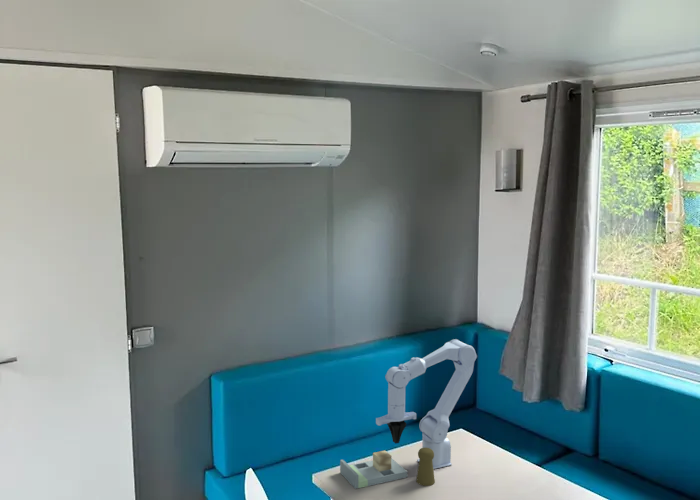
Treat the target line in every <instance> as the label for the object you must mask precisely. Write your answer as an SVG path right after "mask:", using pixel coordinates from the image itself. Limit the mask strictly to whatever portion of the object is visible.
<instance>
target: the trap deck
mask: <svg viewBox="0 0 700 500" xmlns="http://www.w3.org/2000/svg"><path fill="white" fill-rule="evenodd" d="M339 461H340V462H339V467H340V469H339V471H340V472H339V473H340V475H342V476H343V478H344V479H346V481H348V483H349V484H350V485H351V486H352V487H353V488H354V489H356V488H357V489H360V488H365V487H370V486H374V485H378V484H383V483H387V482H391V481H396V480H401V479H405V478H408V470H406V469H405V468H404V467H403V466H401V465H400V464H399V463H398V462H397V461H395V459H393V458H392V457H391V469H389V470H385V471H380V472H379V471H378V470H377V469H376V468H375V467H373V459H372V460H368V461H363V462H358V463H354V464H348V463H347V462H346V461H345V459H340V460H339ZM357 489H356V490H357Z"/></svg>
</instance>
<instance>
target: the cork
mask: <svg viewBox="0 0 700 500" xmlns="http://www.w3.org/2000/svg"><path fill="white" fill-rule="evenodd" d="M417 456H418V459H420V460H419V462H418V465H417V466H418V467H417V474H416V480H415V482H416V483H417V484H418V485H420V486H423V487H430V486H433V485H435V483H436V479H435V469H433V462H432V459H433V458H434V452H433V450H432V449H430V448H422V447H421V448H419V450H418V452H417Z"/></svg>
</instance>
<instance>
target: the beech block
mask: <svg viewBox="0 0 700 500" xmlns="http://www.w3.org/2000/svg"><path fill="white" fill-rule="evenodd" d="M391 458H392V455H391V454H390V453H389V452H388V451H386V450H380V451H377V452H376V451H375V452H373V453H372V460H373V467H375V468H376V469H377V470H378V471H379V472H380V471H385V470H389V469H391Z"/></svg>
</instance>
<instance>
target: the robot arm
mask: <svg viewBox="0 0 700 500" xmlns="http://www.w3.org/2000/svg"><path fill="white" fill-rule="evenodd" d="M477 358H478V355H477V353H476V350H475V348H474V347H473V346H472V345H469V344H467V343H464V342H463V341H460V340H459V339H457V338H455V339H454V338H453V339H451V340H449V341H447V342H445V343H444V345H443V346H441V347H439V348H438V349H436V350H434V351H433V352H430V353H429V354H427V355H426V356H424V357H422V358H421V357H417V356H416V357H411V358H410V360H409V361H406V362H405V363H400V364H398V366H392V367H390V368H389V369H388V370H387V372H386V374H385V376H384V377H385V380H386V382H387V383H388V384H387V385H388V386H387V387H388V388H387V414H385V415H383V416H380V417H375V424H376V425H377V426H382V425H385V424H386V425H387V426H388V429H389V431H390V434H391V438H392V439H391V440H392V442H393V443H394V444H399V443H400V441H401V437H402V434H403V432H404V430H405V428H406V427H407V422H406V421H408V420H409V421H410V420H417V413H416V412H414V411H410V412H408V411H407V412H406V387H407V385H408V384H409V382H410V381H411V380H413V379H416V378H417V377H419V376H422V375H424V374H425V373H426V370H427V368H429V367H431V366H434V365H436V364H438V363H442V362H443V361H445V360H446V361H447V360H451V361H452V362H453V364H454V368H455V370H454V372H453V374H452V376H451V378H450V380H449V381H448V383H447V385H446V387H445V389H444V391H443V392H442V394H441V396H440V398H439V400H438V402H437V403H436V405H435V407H434V408H433V409H431V410H429V411H428V412H427V413H426V415H425V416H424V417H422V419H420V421H419V425H418V426H419V430H420V432H422V447H421V448H430V449H432V450H433V452H434V458H433V459H432V462H433V470H436V469H439V468H444V467H449V466H452V462H451V459H452V458H451V457H452V456H451V455H452V454H451V452H452V449H451V448H452V446H451V441H450V440H449V438H448V437H447V436H448V431H449V429H450V426H451V425H450V420H449V419H450V418H449V417H450V415H451V413H452V411H453V410H454V409H455V406H456V405H457V402H458V401H459V399H460V396H461V395H462V393H463V391H464V390H465V388H466V385H467V384H468V382H469V381H470V378H471V376H472V374H473V372H474V366H475V361H476V359H477ZM419 460H420V459H419V458H418V459H416V461H417V462H418V463H419Z"/></svg>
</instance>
